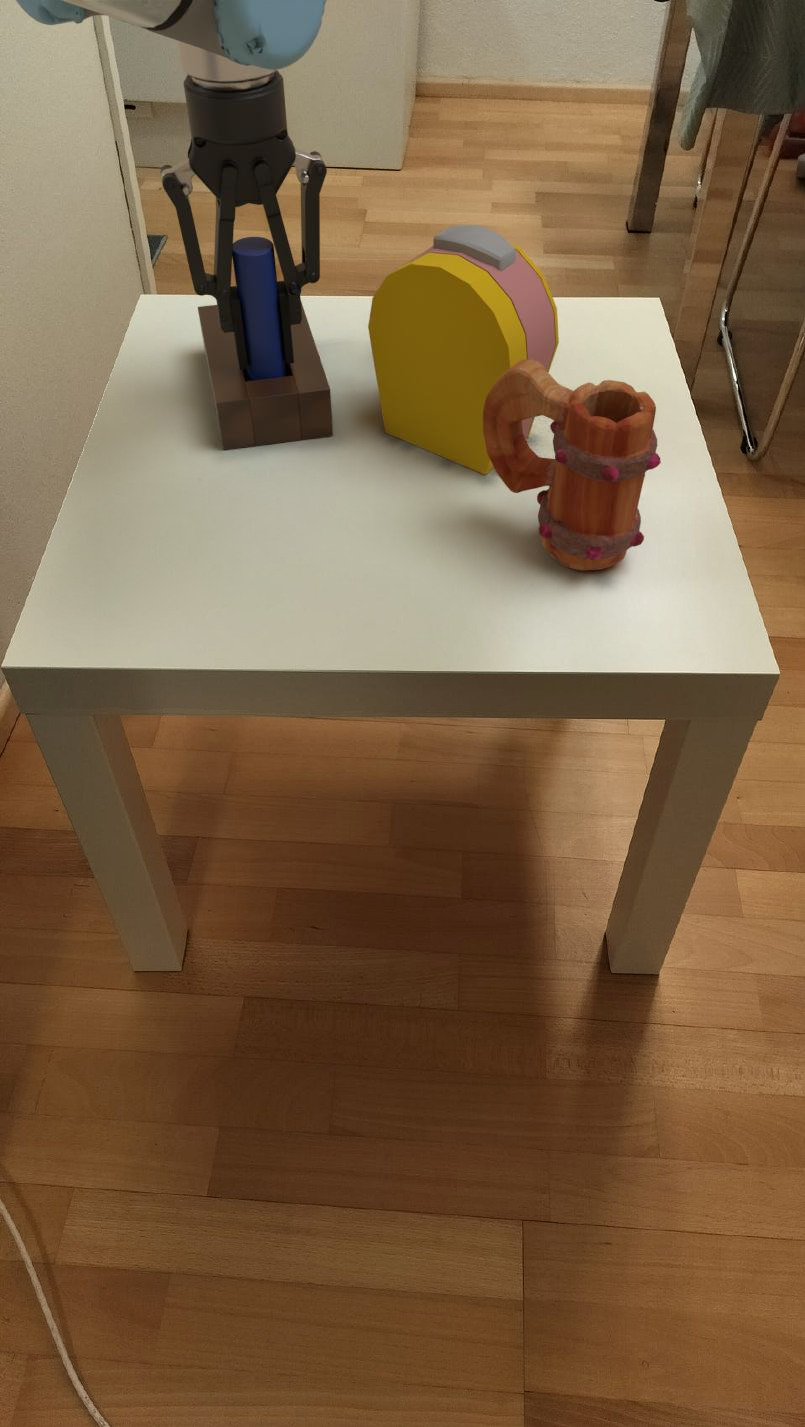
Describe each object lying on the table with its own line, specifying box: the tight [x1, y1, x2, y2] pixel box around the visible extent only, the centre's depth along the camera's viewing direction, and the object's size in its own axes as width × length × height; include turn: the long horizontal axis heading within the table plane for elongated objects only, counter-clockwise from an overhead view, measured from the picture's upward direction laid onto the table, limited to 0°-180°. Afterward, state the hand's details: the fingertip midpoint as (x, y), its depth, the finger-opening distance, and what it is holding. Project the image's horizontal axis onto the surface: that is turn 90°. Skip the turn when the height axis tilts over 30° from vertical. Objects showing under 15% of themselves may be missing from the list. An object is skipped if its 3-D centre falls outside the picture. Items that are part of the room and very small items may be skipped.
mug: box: [483, 359, 662, 571], centre depth 79 cm, size 15×8×15 cm, turn 58°
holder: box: [197, 301, 334, 451], centre depth 98 cm, size 10×18×5 cm, turn 13°
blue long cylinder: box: [232, 236, 286, 381], centre depth 89 cm, size 4×4×12 cm
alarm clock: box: [367, 224, 560, 476], centre depth 88 cm, size 15×8×18 cm, turn 54°
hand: (265, 358), depth 93 cm, fingers closed on blue long cylinder, 3 cm apart
